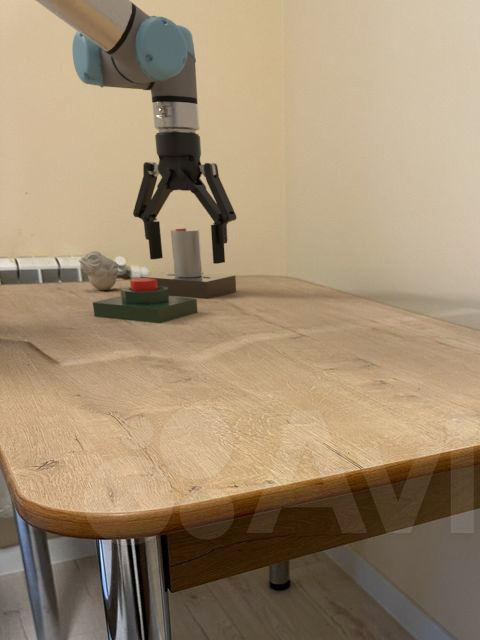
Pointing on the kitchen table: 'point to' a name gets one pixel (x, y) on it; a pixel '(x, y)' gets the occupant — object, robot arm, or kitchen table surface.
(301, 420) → the kitchen table surface
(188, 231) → the grey cylinder
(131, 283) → the button
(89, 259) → the frog figurine
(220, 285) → the panel
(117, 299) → the block
